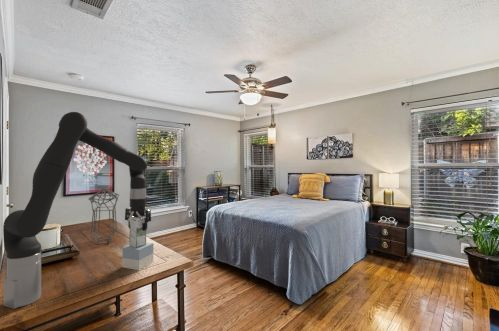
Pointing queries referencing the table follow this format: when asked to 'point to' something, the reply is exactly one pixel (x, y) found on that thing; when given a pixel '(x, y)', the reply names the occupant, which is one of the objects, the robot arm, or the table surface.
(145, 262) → the tower base block
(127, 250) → the tower top block
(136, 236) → the syrup box
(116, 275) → the table surface
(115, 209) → the geometric lantern
